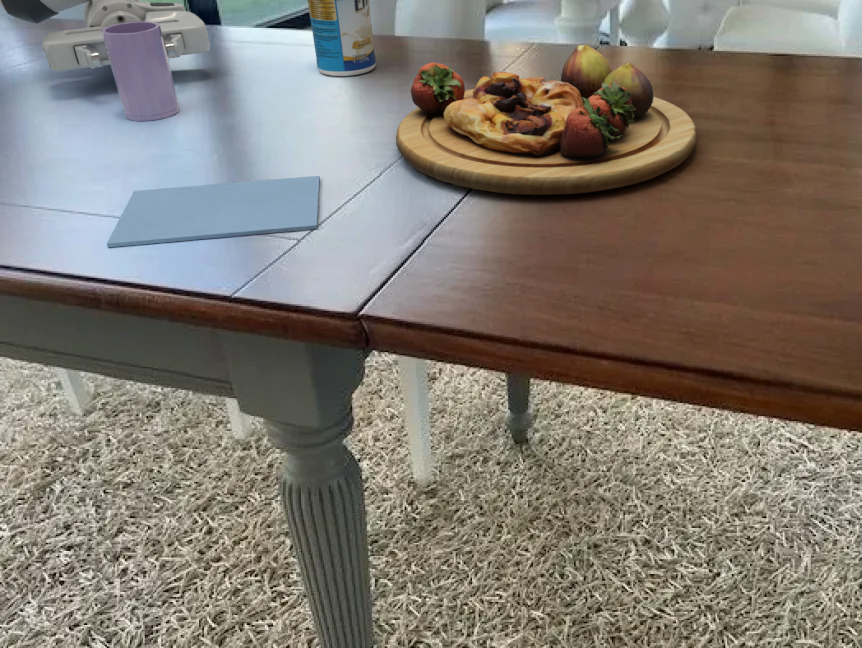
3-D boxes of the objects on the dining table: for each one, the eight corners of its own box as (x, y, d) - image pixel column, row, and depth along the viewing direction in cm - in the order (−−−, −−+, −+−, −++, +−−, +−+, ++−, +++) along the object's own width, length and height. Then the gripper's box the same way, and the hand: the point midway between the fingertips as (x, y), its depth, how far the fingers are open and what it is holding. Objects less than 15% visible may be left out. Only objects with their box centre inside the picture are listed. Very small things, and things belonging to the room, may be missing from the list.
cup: (120, 122, 102) (95, 35, 97) (131, 107, 108) (108, 23, 102) (175, 118, 103) (154, 32, 98) (183, 103, 108) (163, 20, 103)
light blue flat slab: (107, 247, 74) (106, 243, 74) (134, 194, 84) (133, 190, 84) (317, 229, 76) (316, 224, 76) (320, 179, 86) (319, 175, 86)
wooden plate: (334, 159, 90) (323, 79, 86) (513, 85, 111) (512, 18, 106) (591, 231, 74) (594, 137, 69) (744, 128, 95) (755, 51, 90)
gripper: (33, 18, 112) (36, 40, 102) (193, 1, 119) (210, 20, 109) (49, 68, 116) (53, 93, 105) (203, 48, 123) (221, 70, 112)
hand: (134, 56), depth 107 cm, fingers open, 8 cm apart
